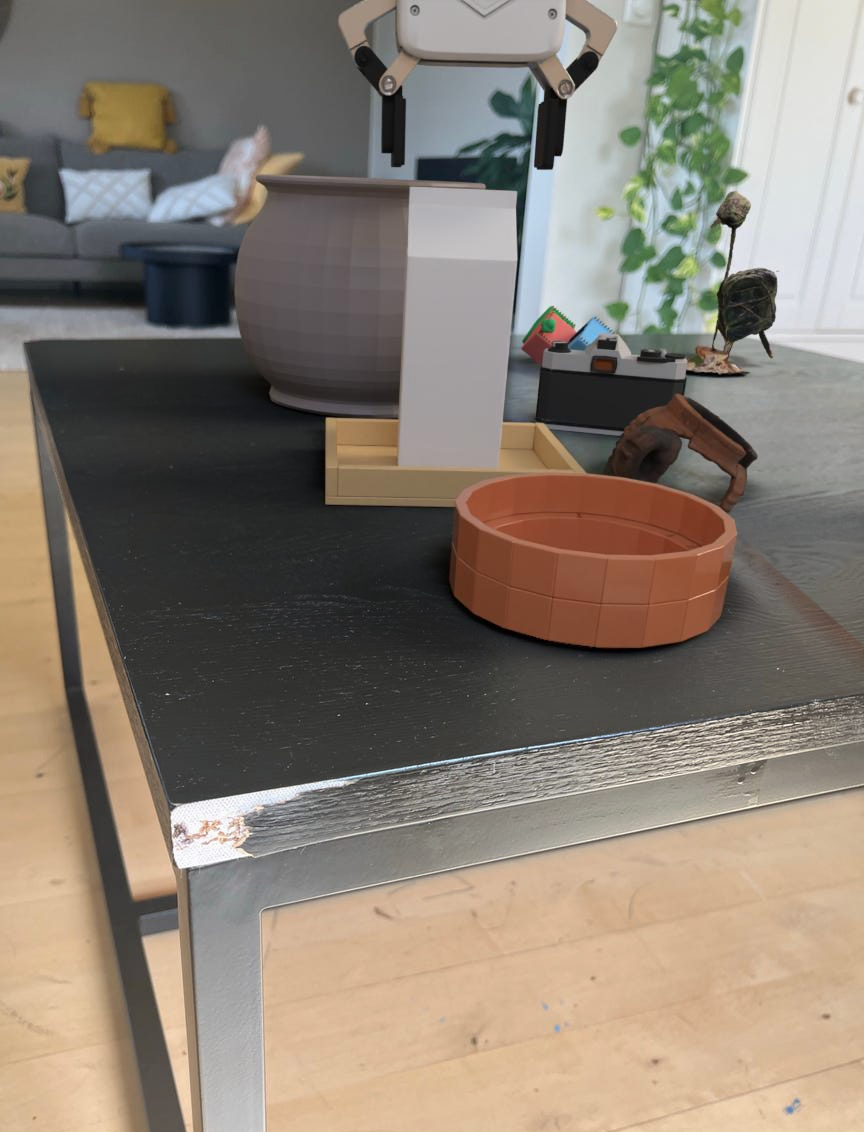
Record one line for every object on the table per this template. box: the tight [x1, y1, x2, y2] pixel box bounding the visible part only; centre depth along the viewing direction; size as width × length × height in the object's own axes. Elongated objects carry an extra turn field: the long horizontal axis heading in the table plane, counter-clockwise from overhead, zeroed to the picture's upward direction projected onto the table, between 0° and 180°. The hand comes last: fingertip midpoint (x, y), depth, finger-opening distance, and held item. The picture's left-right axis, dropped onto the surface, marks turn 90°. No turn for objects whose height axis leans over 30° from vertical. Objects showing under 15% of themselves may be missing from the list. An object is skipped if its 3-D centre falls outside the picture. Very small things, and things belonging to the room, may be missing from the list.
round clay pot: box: [234, 173, 487, 419], centre depth 93 cm, size 25×25×20 cm
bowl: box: [448, 472, 738, 649], centre depth 52 cm, size 14×14×5 cm
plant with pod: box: [685, 190, 779, 375], centre depth 115 cm, size 8×11×20 cm
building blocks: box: [521, 304, 616, 366], centre depth 117 cm, size 8×8×12 cm
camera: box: [534, 333, 688, 437], centre depth 89 cm, size 13×8×9 cm, turn 77°
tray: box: [324, 417, 587, 508], centre depth 73 cm, size 18×15×3 cm
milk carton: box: [397, 187, 518, 468], centre depth 69 cm, size 7×7×19 cm
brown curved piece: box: [601, 394, 759, 514], centre depth 69 cm, size 12×10×8 cm
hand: (470, 168), depth 65 cm, fingers open, 9 cm apart
